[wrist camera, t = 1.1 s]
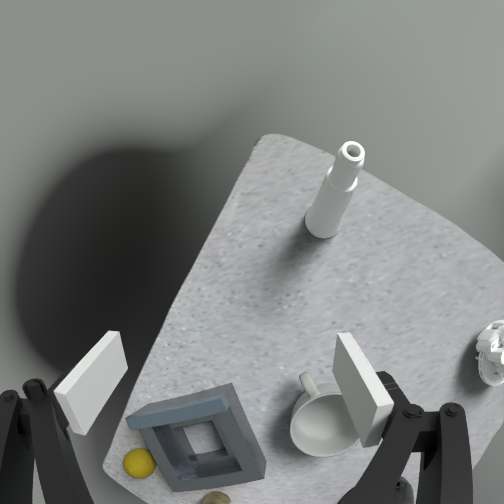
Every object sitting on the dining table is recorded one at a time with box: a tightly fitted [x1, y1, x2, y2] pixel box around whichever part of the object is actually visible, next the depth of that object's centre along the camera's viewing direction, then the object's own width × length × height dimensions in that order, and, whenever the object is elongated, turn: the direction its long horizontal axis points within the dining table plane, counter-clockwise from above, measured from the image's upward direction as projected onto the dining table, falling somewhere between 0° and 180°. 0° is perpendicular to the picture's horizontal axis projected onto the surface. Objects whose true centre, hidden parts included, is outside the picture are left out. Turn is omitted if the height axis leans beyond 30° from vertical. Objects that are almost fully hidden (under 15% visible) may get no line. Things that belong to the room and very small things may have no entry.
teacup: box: [290, 371, 360, 457], centre depth 36 cm, size 14×11×8 cm
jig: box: [125, 383, 266, 492], centre depth 36 cm, size 16×16×8 cm
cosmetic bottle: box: [305, 141, 365, 238], centre depth 35 cm, size 6×6×22 cm
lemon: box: [123, 448, 156, 479], centre depth 36 cm, size 6×6×8 cm
